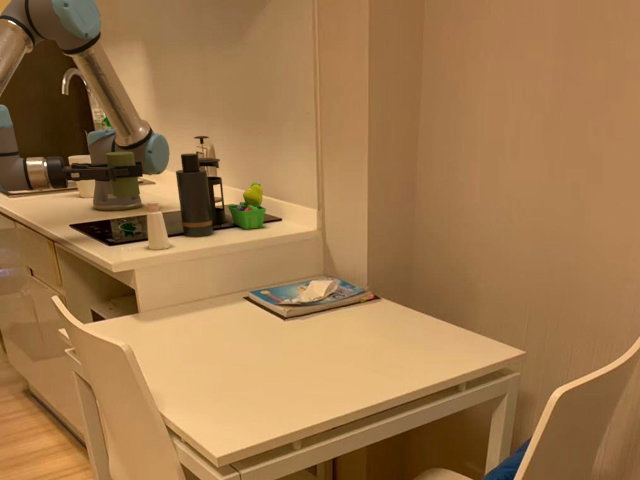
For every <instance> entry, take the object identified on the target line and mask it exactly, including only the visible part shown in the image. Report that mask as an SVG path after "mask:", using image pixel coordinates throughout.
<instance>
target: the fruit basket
mask: <svg viewBox="0 0 640 480" xmlns="http://www.w3.org/2000/svg"><path fill="white" fill-rule="evenodd" d="M261 186H262V185H261V183H257V182H253V183H252V184H251V185H250V187H249V188H248V189H246V190H245V191H244V192H243V194H242V197H243V200H244V201H240V202H239V204H232V205H228V206H227V208H228V210H229V211H230V214H231V217H232V220H233V224H234V225H236V226H238V227H240V228H242V229H244V230H252V229H259V228H263V225H264V220H265V214H266V211H267V208H266V207H263V206H261V205H262V203H263V192H264V191H263V188H262V187H261Z"/></svg>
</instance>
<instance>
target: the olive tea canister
mask: <svg viewBox="0 0 640 480" xmlns="http://www.w3.org/2000/svg"><path fill="white" fill-rule="evenodd" d="M106 160H107V166H108V167H114V169H115V166H131V165H135V159H134V153H133V152H110V153H106ZM138 178H139V177H129V178H116V181H113V179H112V180H110V183H111V189H112V194H113V196H117V197H128V196H136V195H139V196H140V194H141V192H140V184H139V179H138Z"/></svg>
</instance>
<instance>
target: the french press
mask: <svg viewBox="0 0 640 480" xmlns="http://www.w3.org/2000/svg"><path fill="white" fill-rule="evenodd" d="M193 139H195V140H196V139H197V140H198V139H199V143H200V145H201V152H202V157H198V160H199V169H201V168H202V167H203V169H204V170H206V167H211V168H213V167H214V168H216V169H219V168H220V164H219V162H220V161H221V159H220V158H213V157H205V152H204V144H205V142H204V139H210V136H207V135H196V136H194V137H193ZM207 178H208V188H209V197H210V207H211V216H212V225H213V226H216V225H222V224H226V223H227V218H226V210H225V199H224V190H223V188H224V187H223V178H222V177H220V176H214V175H213V176H211V175H209V176H208V175H207ZM217 185H219V187H220V196H215V190H214V189H215V188H214V186H217ZM218 203H221V207H216V204H218Z"/></svg>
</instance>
